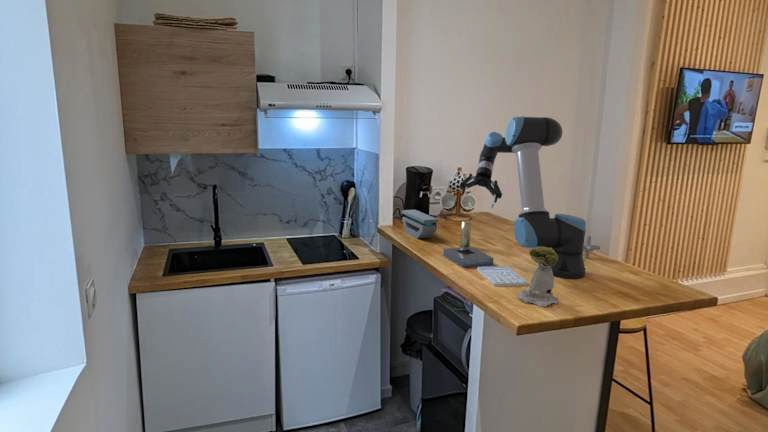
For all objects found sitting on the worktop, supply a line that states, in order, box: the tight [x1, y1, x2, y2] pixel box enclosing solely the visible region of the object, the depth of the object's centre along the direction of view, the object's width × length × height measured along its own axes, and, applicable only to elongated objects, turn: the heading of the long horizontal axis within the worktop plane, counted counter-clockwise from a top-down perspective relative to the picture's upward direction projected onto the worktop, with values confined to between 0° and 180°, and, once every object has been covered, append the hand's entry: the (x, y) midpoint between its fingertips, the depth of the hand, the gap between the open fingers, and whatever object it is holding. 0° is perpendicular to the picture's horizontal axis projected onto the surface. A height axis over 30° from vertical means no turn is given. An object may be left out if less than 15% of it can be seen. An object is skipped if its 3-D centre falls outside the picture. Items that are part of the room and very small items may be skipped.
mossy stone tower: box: [517, 246, 559, 307], centre depth 162 cm, size 12×13×18 cm
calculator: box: [476, 265, 528, 287], centre depth 186 cm, size 13×20×2 cm, turn 8°
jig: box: [443, 246, 495, 268], centre depth 206 cm, size 18×14×3 cm
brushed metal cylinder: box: [459, 220, 472, 248], centre depth 225 cm, size 4×4×12 cm
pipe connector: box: [583, 235, 601, 259], centre depth 214 cm, size 10×10×10 cm
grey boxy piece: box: [401, 209, 439, 240], centre depth 245 cm, size 25×8×11 cm, turn 23°
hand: (478, 202), depth 224 cm, fingers open, 13 cm apart
